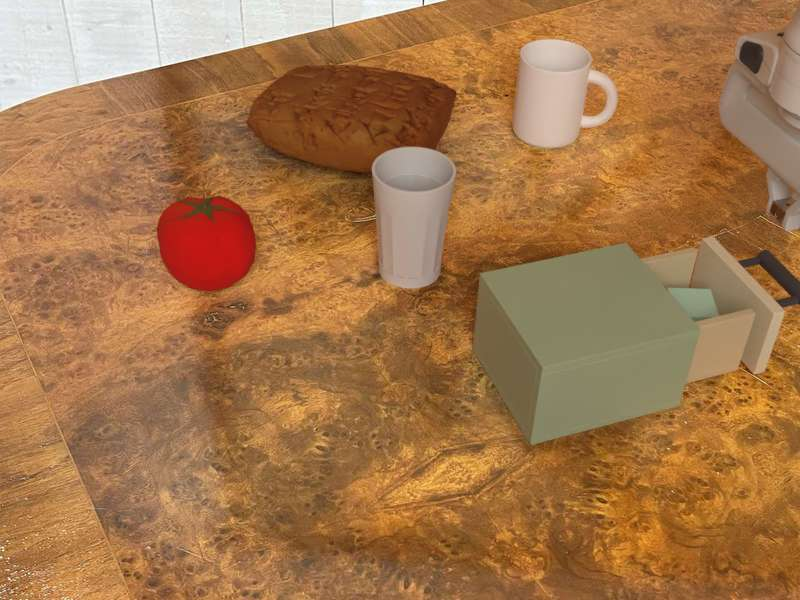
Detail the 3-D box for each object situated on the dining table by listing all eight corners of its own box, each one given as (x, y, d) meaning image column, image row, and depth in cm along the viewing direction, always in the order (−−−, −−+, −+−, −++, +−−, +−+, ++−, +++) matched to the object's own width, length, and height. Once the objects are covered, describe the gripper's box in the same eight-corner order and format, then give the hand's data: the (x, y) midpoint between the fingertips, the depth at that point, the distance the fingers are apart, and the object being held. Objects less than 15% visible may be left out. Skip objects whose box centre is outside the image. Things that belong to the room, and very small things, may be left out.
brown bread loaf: (465, 137, 128) (470, 77, 123) (410, 212, 116) (413, 149, 111) (301, 96, 134) (299, 37, 129) (232, 163, 122) (227, 101, 117)
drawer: (742, 284, 106) (760, 225, 102) (812, 359, 98) (836, 298, 93) (574, 323, 101) (584, 263, 96) (634, 406, 93) (649, 344, 88)
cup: (354, 264, 108) (354, 164, 101) (413, 235, 112) (418, 137, 105) (405, 304, 104) (409, 203, 96) (465, 273, 108) (473, 173, 100)
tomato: (227, 317, 102) (220, 247, 96) (138, 285, 105) (127, 215, 99) (277, 263, 108) (273, 195, 103) (192, 235, 111) (184, 167, 106)
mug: (613, 125, 131) (627, 48, 124) (606, 160, 125) (621, 81, 118) (517, 110, 133) (526, 34, 126) (505, 144, 127) (514, 66, 120)
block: (701, 321, 100) (710, 288, 98) (710, 350, 97) (720, 317, 95) (659, 320, 100) (667, 287, 98) (666, 349, 97) (675, 315, 94)
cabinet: (610, 317, 103) (626, 242, 97) (679, 406, 94) (701, 329, 88) (472, 349, 99) (479, 273, 93) (530, 445, 90) (542, 367, 84)
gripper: (955, 140, 78) (890, 286, 87) (787, 20, 93) (746, 156, 101) (885, 153, 76) (827, 301, 85) (725, 28, 91) (689, 166, 100)
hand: (782, 221), depth 93 cm, fingers closed
